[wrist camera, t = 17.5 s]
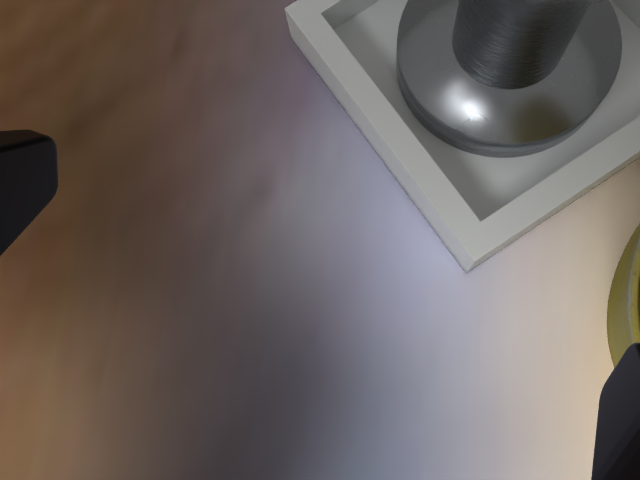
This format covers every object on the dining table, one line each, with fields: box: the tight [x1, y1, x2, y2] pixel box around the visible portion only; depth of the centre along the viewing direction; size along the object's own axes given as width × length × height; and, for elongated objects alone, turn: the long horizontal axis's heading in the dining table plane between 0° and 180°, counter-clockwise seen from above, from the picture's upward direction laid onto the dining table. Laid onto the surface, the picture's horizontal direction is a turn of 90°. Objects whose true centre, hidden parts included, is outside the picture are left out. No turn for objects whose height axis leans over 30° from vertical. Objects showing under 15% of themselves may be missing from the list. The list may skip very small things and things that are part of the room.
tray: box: [285, 0, 640, 273], centre depth 23 cm, size 12×12×2 cm
